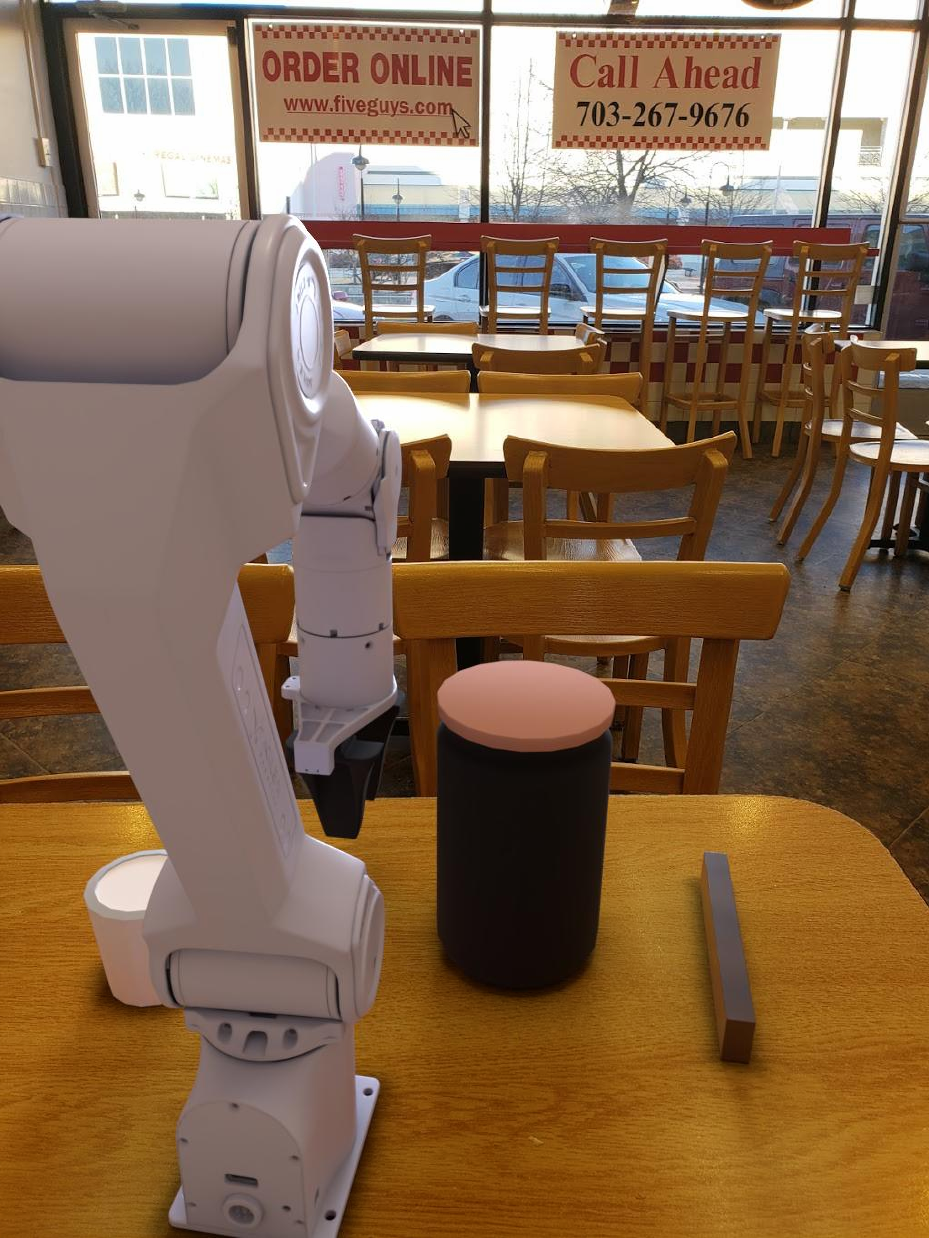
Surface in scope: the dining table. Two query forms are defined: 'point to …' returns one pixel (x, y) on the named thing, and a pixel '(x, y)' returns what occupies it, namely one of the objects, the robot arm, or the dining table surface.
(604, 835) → the coffee jar
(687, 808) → the dining table surface
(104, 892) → the white cup
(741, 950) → the bar
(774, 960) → the dining table surface
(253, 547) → the robot arm
